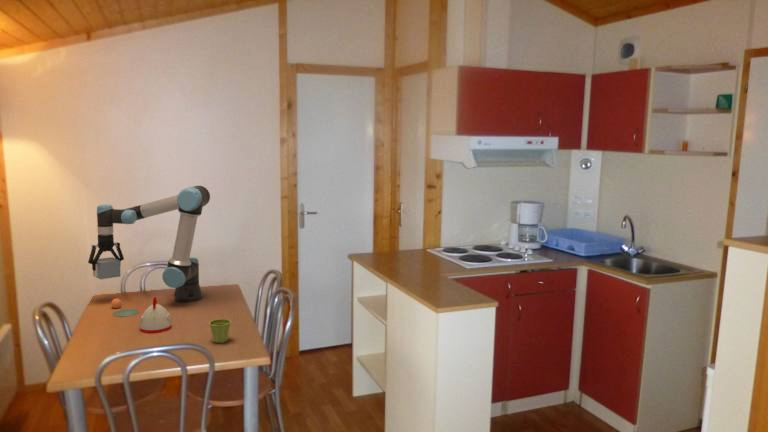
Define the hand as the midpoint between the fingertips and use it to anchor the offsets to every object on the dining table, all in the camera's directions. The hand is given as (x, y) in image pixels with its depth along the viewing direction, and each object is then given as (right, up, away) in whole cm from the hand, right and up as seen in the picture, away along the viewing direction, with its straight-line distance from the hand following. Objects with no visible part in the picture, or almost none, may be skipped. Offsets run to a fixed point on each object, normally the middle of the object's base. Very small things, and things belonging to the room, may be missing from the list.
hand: (106, 274), depth 306 cm
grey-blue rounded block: (0, -1, 0) cm, 1 cm away
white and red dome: (+41, -22, -37) cm, 60 cm away
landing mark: (+17, -18, -15) cm, 29 cm away
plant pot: (+76, -24, -52) cm, 95 cm away
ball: (+9, -14, -7) cm, 18 cm away
